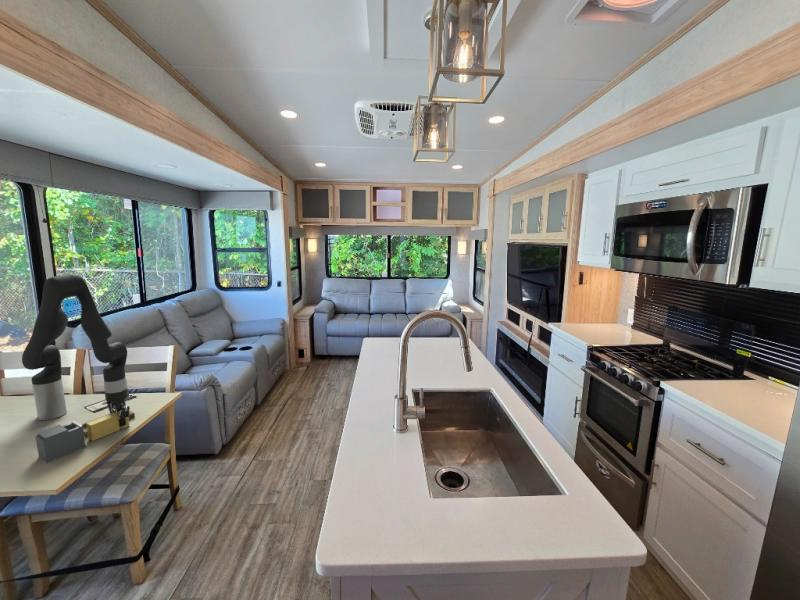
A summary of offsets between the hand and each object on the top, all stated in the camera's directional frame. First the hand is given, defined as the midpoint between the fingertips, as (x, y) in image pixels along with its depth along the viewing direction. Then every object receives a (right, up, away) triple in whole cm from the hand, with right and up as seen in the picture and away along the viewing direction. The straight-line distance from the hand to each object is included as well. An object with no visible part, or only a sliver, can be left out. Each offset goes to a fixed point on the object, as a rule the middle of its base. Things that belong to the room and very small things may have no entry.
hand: (120, 424), depth 145 cm
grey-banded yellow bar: (-2, -2, -3) cm, 4 cm away
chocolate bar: (-22, +3, +21) cm, 31 cm away
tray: (-8, -1, +2) cm, 9 cm away
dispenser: (-8, -4, -16) cm, 19 cm away
